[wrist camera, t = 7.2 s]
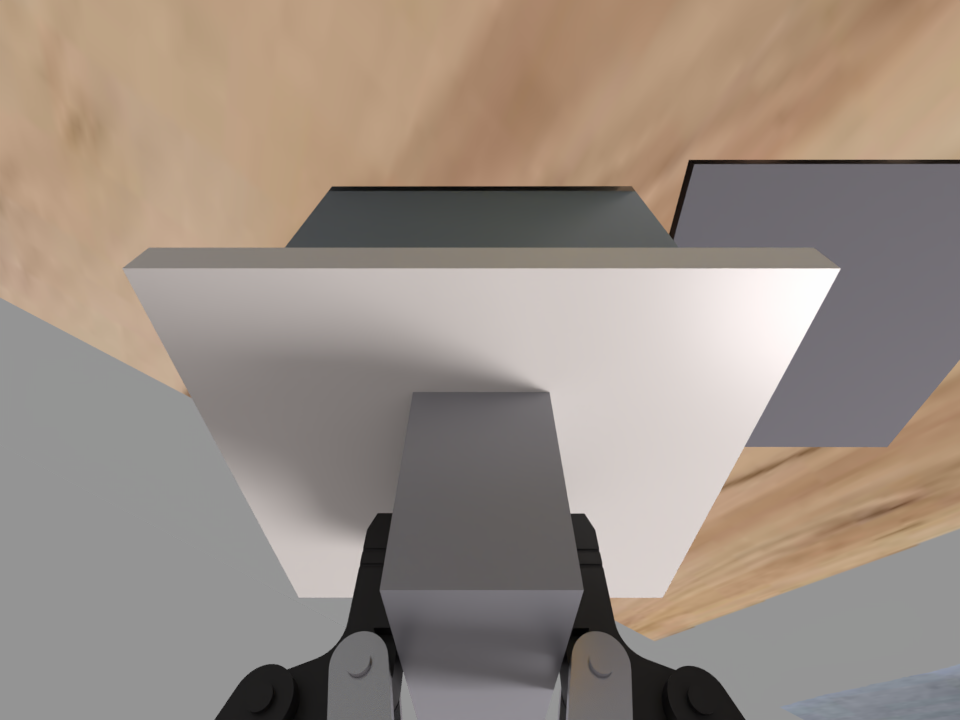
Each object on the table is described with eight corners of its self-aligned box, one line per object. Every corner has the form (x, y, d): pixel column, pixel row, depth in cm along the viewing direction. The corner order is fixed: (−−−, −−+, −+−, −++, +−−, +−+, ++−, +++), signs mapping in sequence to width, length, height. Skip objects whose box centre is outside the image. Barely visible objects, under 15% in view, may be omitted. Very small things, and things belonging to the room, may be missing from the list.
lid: (813, 247, 10) (1087, 457, 6) (655, 573, 20) (709, 754, 15) (148, 247, 10) (-123, 457, 6) (305, 573, 20) (251, 754, 15)
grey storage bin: (631, 186, 18) (682, 252, 14) (588, 403, 26) (611, 493, 21) (331, 186, 18) (280, 252, 14) (375, 402, 26) (351, 493, 21)
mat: (1105, 159, 18) (1122, 164, 17) (880, 439, 28) (887, 447, 27) (688, 159, 18) (694, 164, 17) (614, 438, 28) (616, 446, 27)
